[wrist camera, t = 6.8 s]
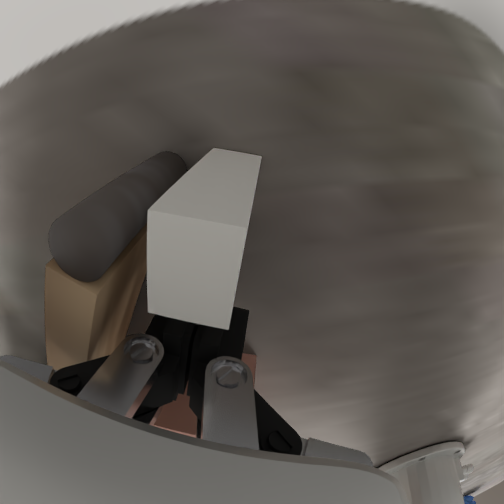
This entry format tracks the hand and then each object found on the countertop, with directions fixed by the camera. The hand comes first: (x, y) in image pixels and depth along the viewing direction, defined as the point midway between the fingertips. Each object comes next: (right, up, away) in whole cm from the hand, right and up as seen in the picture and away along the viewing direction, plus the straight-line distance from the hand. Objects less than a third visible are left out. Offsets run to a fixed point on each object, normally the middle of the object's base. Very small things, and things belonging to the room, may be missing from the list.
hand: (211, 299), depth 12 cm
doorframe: (-3, -8, +7) cm, 11 cm away
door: (-6, -2, +4) cm, 8 cm away
